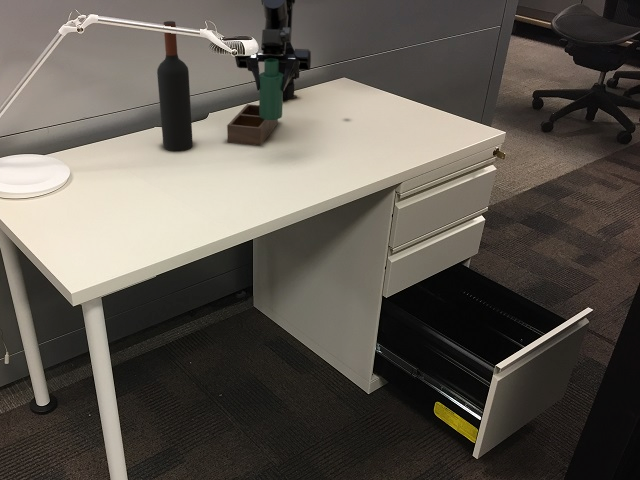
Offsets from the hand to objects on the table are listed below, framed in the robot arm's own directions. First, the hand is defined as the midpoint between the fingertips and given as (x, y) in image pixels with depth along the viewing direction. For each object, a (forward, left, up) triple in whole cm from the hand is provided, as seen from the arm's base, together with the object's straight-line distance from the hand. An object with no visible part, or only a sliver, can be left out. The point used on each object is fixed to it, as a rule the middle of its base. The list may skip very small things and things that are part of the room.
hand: (270, 90), depth 166 cm
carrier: (-8, +1, -13) cm, 15 cm away
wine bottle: (-13, -20, -13) cm, 27 cm away
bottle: (-1, +1, -7) cm, 7 cm away
